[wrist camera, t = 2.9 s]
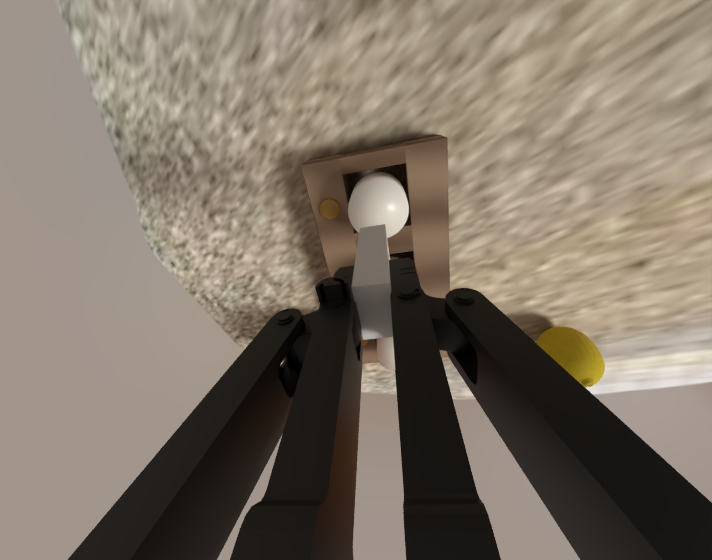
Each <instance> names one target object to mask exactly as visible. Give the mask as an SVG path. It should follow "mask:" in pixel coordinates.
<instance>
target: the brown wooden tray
mask: <svg viewBox="0 0 712 560" xmlns="http://www.w3.org/2000/svg"><path fill="white" fill-rule="evenodd" d="M398 164H404V171H405V182H406V193H407V200H408V205H409V214H408V218H407V221H406V223H405V225H404V226H403V227H402V229H401V230H400V231H399V232H398V233H396V234H395V235H393V236H391V237H389V238H387V241H388V248H389V254H394V253H401V252H409V251H412V259H413V261H414V262H415V266H416V270H417V274H418V278H419V282H420V286H421V288H422V289H423V291H424V293H425V294H427V295H429V296H432V297H437V298H445V296H446V294H447V293H448V292H449V291H450V272H449V210H448V148H447V137H444V136H442V135H437V136H432V137H427V138H421V139H416V140H411V141H406V142H401V143H395V144H390V145H385V146H380V147H375V148H370V149H364V150H359V151H354V152H349V153H344V154H338V155H333V156H328V157H323V158H318V159H313V160H308V161H307V162H305V163H304V164H302V165H301V168H302V172H303V176H304V180H305V183H306V187H307V191H308V195H309V198H310V202H311V206H312V210H313V214H314V217H315V221H316V225H317V229H318V232H319V236H320V240H321V244H322V248H323V251H324V255H325V259H326V263H327V266H328V270H329V274H330V277H334V273H335V272H336V271H337V270H338V269H339V268H340V267H347V266H354V265H355V259H356V252H357V245H358V238H359V233H358V232H357V231H356V230H355V229H354V227H353V226H352V224H351V222H350V220H349V216H348V205H349V201H350V198H351V194H350V189H349V184H348V179H347V174H349V173H354V172H360V171H365V170H371V169H376V168H382V167H387V166H393V165H398ZM361 342H362V346H363V357H362V364H364V363H377V362H379V361H378V359H377V339H366V340H363V337H362V332H361ZM440 354H441V357H449V356H448V354H447V351H443V350H440Z"/></svg>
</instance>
